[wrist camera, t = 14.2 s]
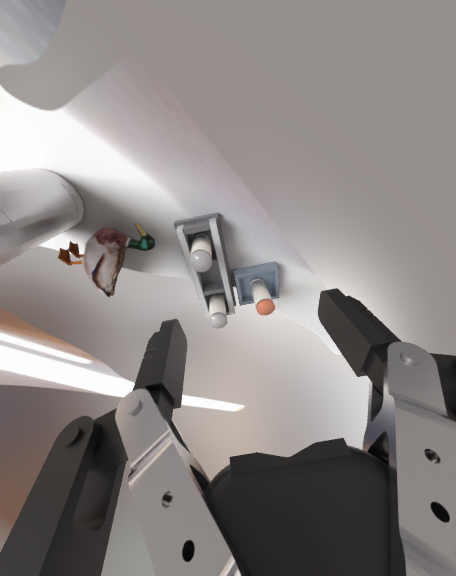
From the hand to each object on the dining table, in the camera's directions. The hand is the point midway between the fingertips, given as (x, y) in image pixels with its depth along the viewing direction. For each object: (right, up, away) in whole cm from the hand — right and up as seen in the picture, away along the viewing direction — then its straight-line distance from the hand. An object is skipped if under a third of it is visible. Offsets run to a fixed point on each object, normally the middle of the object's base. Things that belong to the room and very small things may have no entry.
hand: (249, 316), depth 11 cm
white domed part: (-6, +11, +27) cm, 30 cm away
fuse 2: (-4, 0, +35) cm, 35 cm away
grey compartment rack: (-5, +6, +32) cm, 33 cm away
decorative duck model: (-23, +9, +29) cm, 38 cm away
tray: (+6, +3, +35) cm, 36 cm away
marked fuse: (+6, +3, +35) cm, 35 cm away
